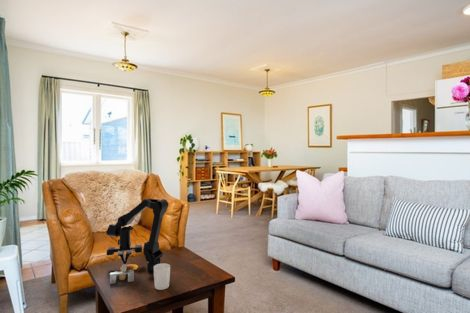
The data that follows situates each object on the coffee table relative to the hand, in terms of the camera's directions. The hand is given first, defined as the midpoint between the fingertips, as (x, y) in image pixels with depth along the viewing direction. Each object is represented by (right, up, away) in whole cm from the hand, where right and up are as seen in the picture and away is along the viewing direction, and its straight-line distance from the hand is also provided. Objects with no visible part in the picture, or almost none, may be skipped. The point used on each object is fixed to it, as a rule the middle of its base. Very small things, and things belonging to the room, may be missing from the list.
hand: (125, 264), depth 171 cm
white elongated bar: (+3, -1, -11) cm, 11 cm away
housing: (+5, -1, -17) cm, 18 cm away
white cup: (+27, -2, -25) cm, 37 cm away
